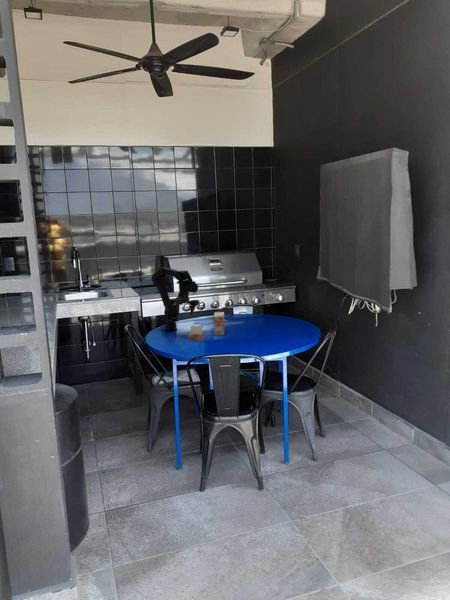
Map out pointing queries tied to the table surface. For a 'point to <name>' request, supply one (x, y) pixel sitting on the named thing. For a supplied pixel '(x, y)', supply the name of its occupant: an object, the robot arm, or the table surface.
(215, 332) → the stack of blocks
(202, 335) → the walnut block
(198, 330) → the cream cube
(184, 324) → the table surface
